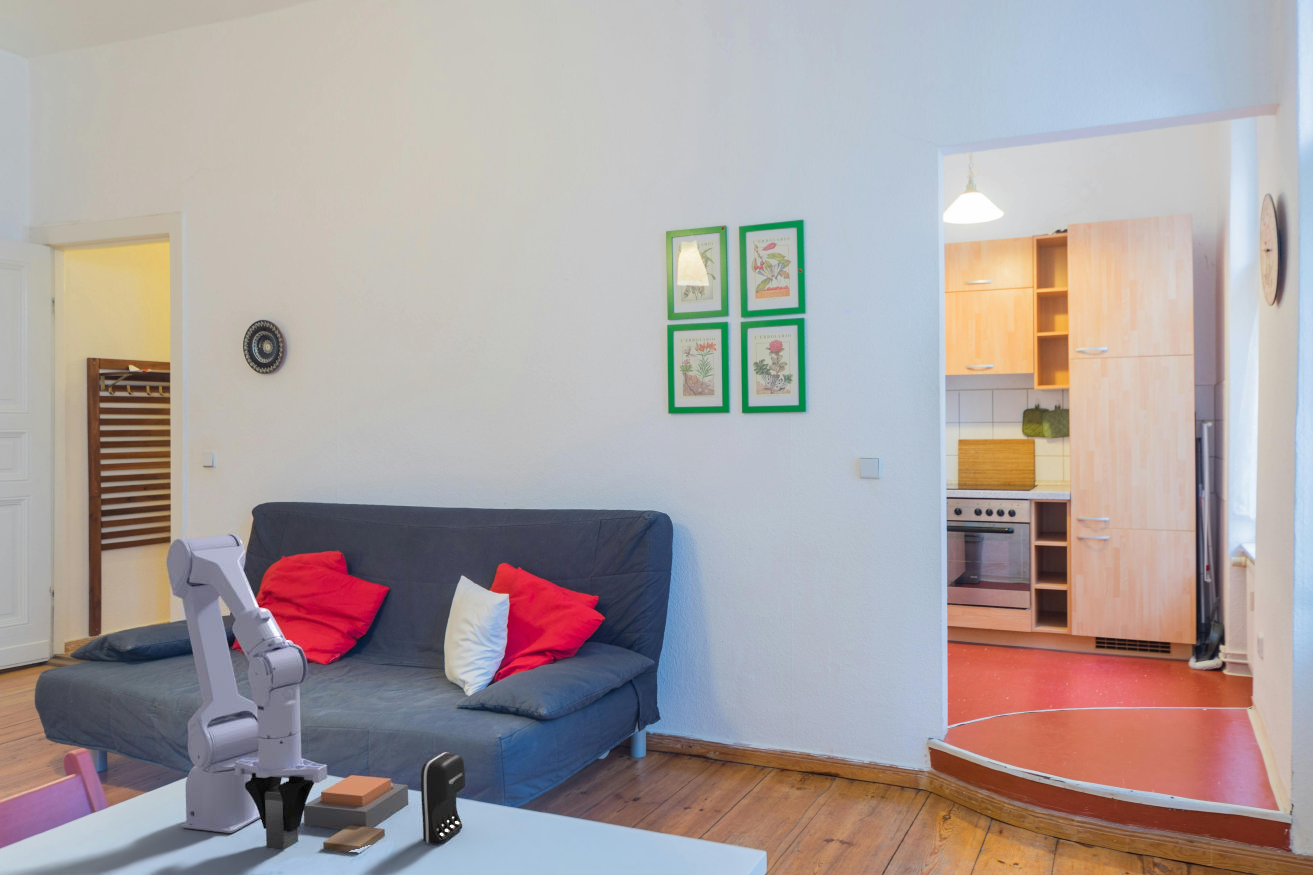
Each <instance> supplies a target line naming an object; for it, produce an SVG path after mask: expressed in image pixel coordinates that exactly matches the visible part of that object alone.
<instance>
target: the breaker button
mask: <svg viewBox="0 0 1313 875" xmlns="http://www.w3.org/2000/svg"><path fill="white" fill-rule="evenodd" d="M391 783H392V778H385V777H374V776H366V775H365V776H364V775H356V774H355V775H353V774H351V775H349V776H347V777H346V778H343V779H342V780H340V781H337V783H335V784H332V785H331V786H330V787H327V788H326V789H324V790H322V791H321V792H320V794H321V795H320V796H321V803H329V804H339V805H348V806H358V807H364V806H366V805H367V804H369V803H370V802H372V801H374V800H375V799H377V798H378V797H380V796H382V795H383V794H385V793H386V792H388V791H390V790H391Z"/></svg>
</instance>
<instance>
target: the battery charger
mask: <svg viewBox="0 0 1313 875" xmlns="http://www.w3.org/2000/svg"><path fill="white" fill-rule="evenodd" d="M465 769H466V768H465V761H464V758H463V756H462V755H460V754H457V753H450V752H447V751H445V752H441V753H439V754H437V755H435V756H434V757H432V758H429V759H428V760H427V761H425V763H424V764H423V765H422V768H421V773H420V790H421V791H420V792H421V793H420V794H421V796H420V798H421V814H422V837H423V838H422V841H423V842H424V843H426V844H435V845H436V844H444V843H445V842H447V841H448V840H449V839H451V838H452V837H454V836H455V835H457V833H459V832H460V831H461V830H462V829H463V823H462V821H461V818H460V816H459V814H458V813H459V812H458V809H457V793H458V792H459V793H460V791H461V790H463V789H464V788H466V770H465Z"/></svg>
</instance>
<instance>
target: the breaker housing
mask: <svg viewBox="0 0 1313 875" xmlns="http://www.w3.org/2000/svg"><path fill="white" fill-rule="evenodd" d="M408 805H409V785H408V784H402V783H401V784H400V783H393V782H391V790H390V791H388V792H386V793H385V794H383V795H382V796H380V797H378V798H377V799H375V800H374V801H372V802H370V803H369V804H367V805H366V806H364V807H358V806H348V805H339V804H329V803H321V795H319V796H318V797H316V798H314V799H313V800H310V801H308V802H306V803H305V807H304V811H303V825H304V826H306V827H314V828H315V827H317V828H324V829H325V828H326V829H335V830H343V829H344V828H346V827H348V826H349V825H353V826H362V827H371V828H376V826H378V825H379V824H381V823H382V822H383V821H385V820H387V819H388V818H390V817H391V816H393V815H394V814H396V813H397V812H398V811H400V810H402V809H403V808H404V807H406V806H408Z"/></svg>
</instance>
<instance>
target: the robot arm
mask: <svg viewBox="0 0 1313 875" xmlns="http://www.w3.org/2000/svg"><path fill="white" fill-rule="evenodd" d="M165 560H166V562H165V564H166V570H167V574H168V578H169V584H170V587H171V591H172V595H173V596H175V597H177V598H180V599H181V600H182V605H183V610H184V615H185V620H186V625H187V630H188V633H189V635H188V636H189V639H190V640H189V641H190V645H191V649H192V650H191V651H192V654H193V660H194V665H195V669H196V670H195V671H196V674H197V679H198V684H199V689H200V694H201V699H202V705H201V706H200V707H199V708H198V709H197V710H196V712H195V713H193V715H192V716H191V717H190V719H189V720H188V722H187V734H188V737H187V738H188V740H187V751H188V756H189V758H190V761H191V763H192V764H193V765H194V766H193V767H192V768H191V769H190V771H189V772H188V774H187V777H186V781H185V817H186V822H183V823H182V825H181V827H182V828H183V829H190V830H191V829H193V830H198V831H199V830H201V831H206V832H207V831H209V832H218V833H227V834H232V833H235V832H236V831H238V830H240V829H242V828H244V827H245V826H248V825H249V824H251V823H254V822H255V821H256V820H258V819H260V820H261V823H262V826H263V829H264V830H266V810H265V793H264V792H265V791H267V790H269V789H271V788H273V787H275V786H277V785H279V784H281V785H279V786H278V790H279V792H280V794H281V797H282V800H283V804H284V810H285V825H286V829H287V831H288V832H292V831H293V830H295V829H297V828H298V829H299V828H301V823H302V818H303V816H304V807H305V804H307V800H308V798H309V795H310V793H311V791H312V789H313V787H314V785H315V784H319V783H321V782H322V781H325V780H327V778H328V765H327V764H323V763H317V762H314V761H311V760H309V759H305V758H303V757H302V740H301V739H302V737H301V736H302V735H301V732H302V731H301V730H302V728H301V701H300V700H301V698H300V695H301V694H300V692H301V691H300V690H301V689H300V685H301V684H303V683H304V682H305V681H306V678H307V676H308V669H309V668H308V660H307V656H306V654H305V652H304V650H303V648H302V647H301V646H300V645H298V644H294V642H293V641H292V640H290V639H288V640H287V638H286V637H285V635H284V633H283V632H282V629H281V628H280V626H279V624H278V623H277V621H276V619H275V617H274V616H273V614H272V612H271V611H270V610H269V609H268V608H266V607H265V608H264V607H259V604H258V601H257V599H256V597H255V595H254V592H253V590H252V588H251V584H250V582H249V580H248V578H247V576H246V572H245V571H244V569H245V565H246V550H245V546H244V543H243V541H242V540H241V538H240V537H239V536H238V535H237V534H235V533H229V534H226V535H215V536H207V537H206V536H204V537H195V538H185V539H184V538H176V539H175V540H173V541H172V543H171V544H170V546H169V548H168V552H167V557H166V559H165ZM219 598H221V600H222V601H223V602H224V604H225V605H226V607H227V609H228V610H229V612H230V613H231V614H232V616H233V618H234V619H235V620H234V622H233V625H232V629H231V630H232V633H233V634H234V637H235V639H236V640H237V642H238V644H239V647H240V649H241V650H242V652H243V654H244V655H245V658H246V659H247V661H248V663H249V665H248V670H246V671H247V679H248V683H249V686H250V687H251V693H252V700H251V699H248V698H246V697H245V696H243V695H240V693H239V691H238V686H237V685H238V684H237V680H236V677H235V672H234V666H233V662H232V657H231V652H230V648H229V643H228V640H227V633H226V629H225V624H224V620H223V615H222V611H221V607H220V606H221V605H220V600H219ZM231 717H232V718H231ZM233 717H234V718H233ZM226 718H229V719H226ZM223 719H224V720H223ZM219 720H221V721H219ZM215 721H217V722H215ZM212 722H213V723H212ZM209 723H211V724H209ZM284 778H285V779H288V781H287V780H286V781H285V782H283V783H281V782H282V780H283V779H284Z"/></svg>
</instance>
